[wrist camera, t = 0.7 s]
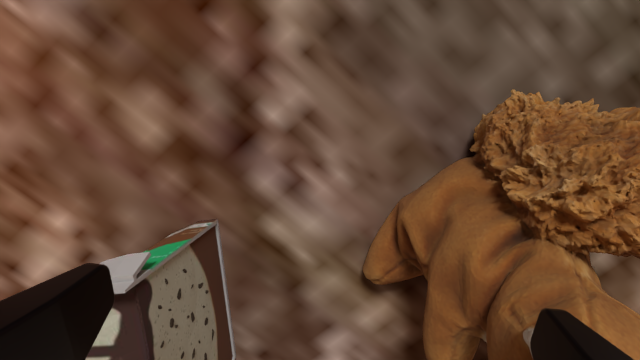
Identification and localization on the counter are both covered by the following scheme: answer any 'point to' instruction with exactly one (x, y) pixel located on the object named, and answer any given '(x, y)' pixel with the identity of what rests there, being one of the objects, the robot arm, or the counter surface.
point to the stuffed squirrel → (520, 229)
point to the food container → (170, 301)
